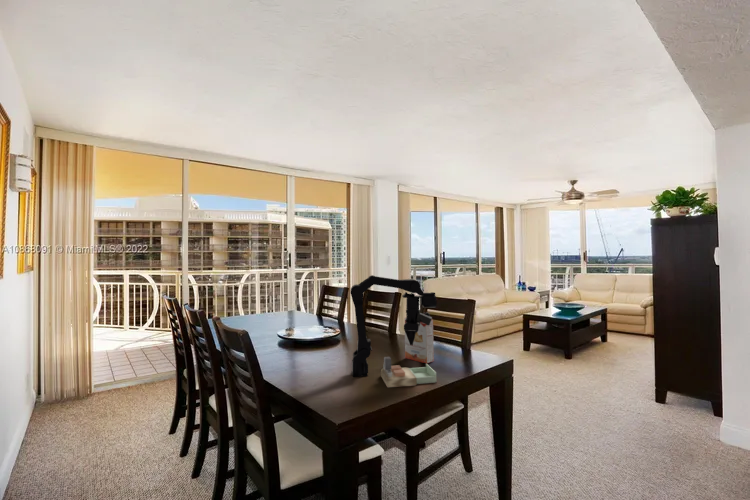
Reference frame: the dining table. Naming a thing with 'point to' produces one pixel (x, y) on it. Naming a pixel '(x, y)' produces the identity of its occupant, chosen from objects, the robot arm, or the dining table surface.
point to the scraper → (387, 366)
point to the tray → (424, 374)
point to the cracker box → (421, 344)
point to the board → (399, 379)
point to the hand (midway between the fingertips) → (412, 342)
